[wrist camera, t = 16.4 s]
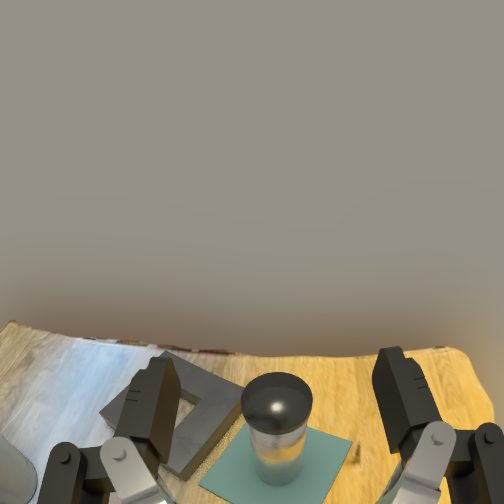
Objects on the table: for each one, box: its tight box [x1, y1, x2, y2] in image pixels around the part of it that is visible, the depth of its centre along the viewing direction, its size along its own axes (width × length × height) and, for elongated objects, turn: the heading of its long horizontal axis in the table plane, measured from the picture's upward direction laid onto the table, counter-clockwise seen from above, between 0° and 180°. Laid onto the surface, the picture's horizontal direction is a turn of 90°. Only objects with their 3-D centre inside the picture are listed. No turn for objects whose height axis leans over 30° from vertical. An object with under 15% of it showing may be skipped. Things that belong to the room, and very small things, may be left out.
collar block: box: [99, 350, 245, 481], centre depth 36 cm, size 14×14×3 cm
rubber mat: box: [198, 422, 352, 504], centre depth 30 cm, size 13×13×1 cm
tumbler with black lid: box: [241, 372, 313, 486], centre depth 26 cm, size 5×5×15 cm
